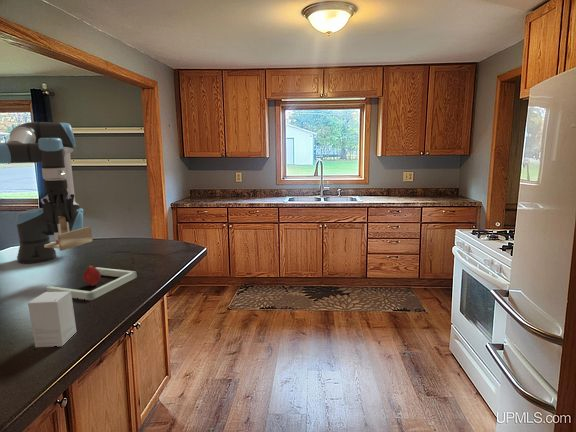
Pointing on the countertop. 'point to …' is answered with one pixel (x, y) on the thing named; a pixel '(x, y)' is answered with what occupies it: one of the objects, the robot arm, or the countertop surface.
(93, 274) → the red round fruit
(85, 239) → the wooden scraper
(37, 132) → the robot arm
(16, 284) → the countertop surface
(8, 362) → the countertop surface
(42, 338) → the supplement box
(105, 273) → the sage frame
